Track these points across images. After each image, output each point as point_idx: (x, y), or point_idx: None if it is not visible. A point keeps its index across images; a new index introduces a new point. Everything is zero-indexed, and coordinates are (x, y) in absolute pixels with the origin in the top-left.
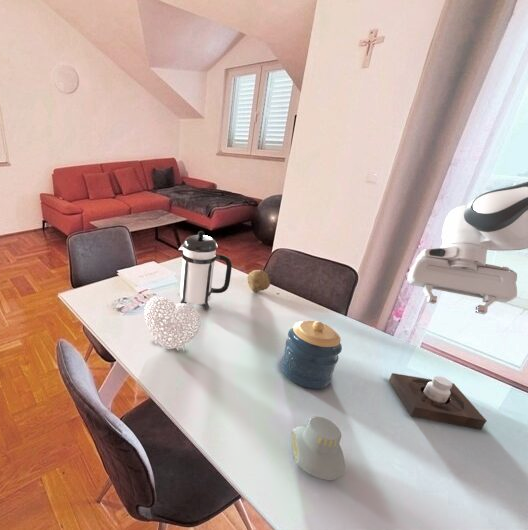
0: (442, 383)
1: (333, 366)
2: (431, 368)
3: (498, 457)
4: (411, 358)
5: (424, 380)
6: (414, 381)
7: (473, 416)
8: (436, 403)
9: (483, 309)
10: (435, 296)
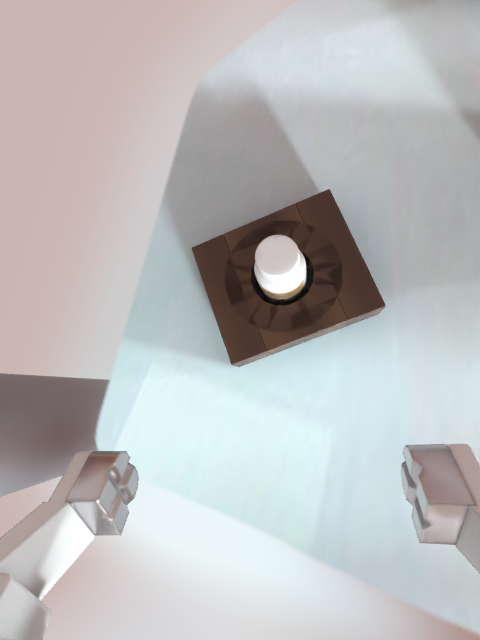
0: (279, 239)
1: None
2: (266, 468)
3: (190, 197)
4: (318, 497)
5: (302, 326)
6: (327, 302)
7: (214, 243)
8: None
9: (89, 465)
10: (442, 498)
